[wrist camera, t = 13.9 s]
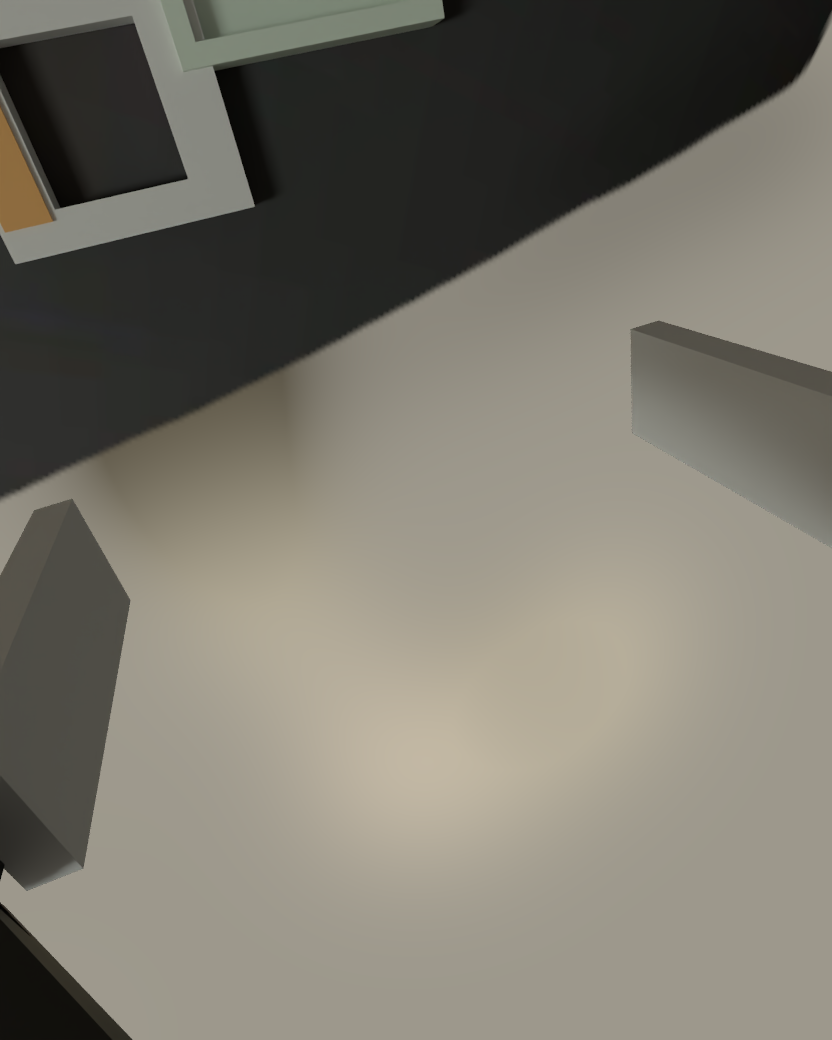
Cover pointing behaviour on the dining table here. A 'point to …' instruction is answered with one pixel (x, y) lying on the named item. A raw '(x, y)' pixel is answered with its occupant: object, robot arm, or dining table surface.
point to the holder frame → (189, 109)
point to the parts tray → (287, 27)
